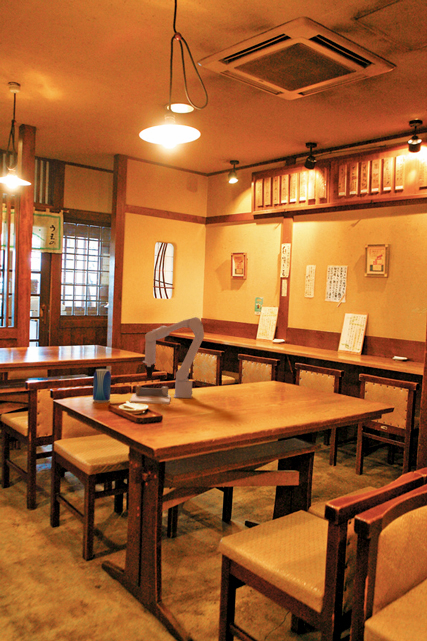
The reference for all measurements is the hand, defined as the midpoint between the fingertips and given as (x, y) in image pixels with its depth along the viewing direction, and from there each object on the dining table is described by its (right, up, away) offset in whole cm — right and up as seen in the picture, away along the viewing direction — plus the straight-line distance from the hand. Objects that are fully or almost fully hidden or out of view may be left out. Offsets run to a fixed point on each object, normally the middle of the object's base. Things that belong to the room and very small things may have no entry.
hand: (149, 378), depth 275 cm
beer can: (-21, -9, -23) cm, 33 cm away
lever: (+2, -8, -7) cm, 11 cm away
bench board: (+2, -10, -12) cm, 16 cm away
